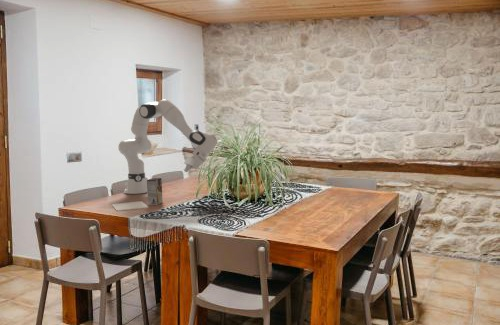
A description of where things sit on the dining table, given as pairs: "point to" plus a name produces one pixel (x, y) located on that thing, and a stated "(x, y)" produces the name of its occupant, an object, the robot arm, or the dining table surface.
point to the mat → (129, 206)
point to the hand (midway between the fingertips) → (185, 171)
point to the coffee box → (154, 191)
